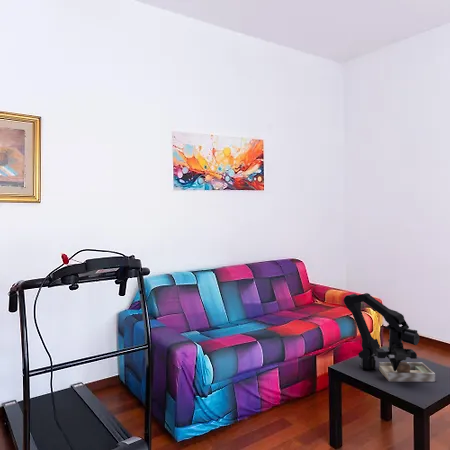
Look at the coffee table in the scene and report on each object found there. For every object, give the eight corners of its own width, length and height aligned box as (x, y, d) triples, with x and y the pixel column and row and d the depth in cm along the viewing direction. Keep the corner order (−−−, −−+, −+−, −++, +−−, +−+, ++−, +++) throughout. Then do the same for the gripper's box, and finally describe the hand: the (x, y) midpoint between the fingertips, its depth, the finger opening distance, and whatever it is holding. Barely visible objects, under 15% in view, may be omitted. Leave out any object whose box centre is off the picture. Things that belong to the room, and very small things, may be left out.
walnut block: (400, 374, 193) (400, 365, 193) (396, 370, 198) (397, 362, 197) (409, 374, 193) (410, 365, 193) (405, 371, 198) (406, 362, 197)
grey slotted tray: (388, 381, 192) (389, 373, 192) (378, 369, 205) (378, 362, 205) (434, 381, 192) (435, 373, 191) (421, 370, 205) (422, 362, 204)
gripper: (382, 345, 187) (381, 377, 188) (422, 345, 186) (421, 378, 187) (374, 337, 198) (373, 367, 199) (412, 337, 197) (411, 368, 198)
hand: (394, 370), depth 195 cm, fingers closed
